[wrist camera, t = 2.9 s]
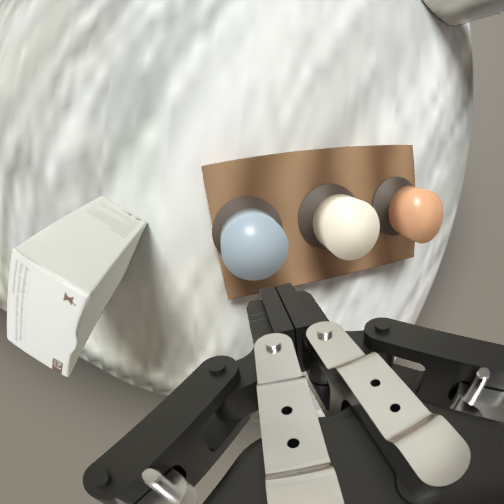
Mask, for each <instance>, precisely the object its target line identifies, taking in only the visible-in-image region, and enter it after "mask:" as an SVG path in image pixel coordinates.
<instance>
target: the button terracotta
mask: <svg viewBox="0 0 504 504" xmlns="http://www.w3.org/2000/svg"><path fill="white" fill-rule="evenodd" d="M442 220H443V206H442V202H441V200H440V198H439V197H438V195H437V194H436V193H434V192H432V191H429V190H425V189H421V188H417V187H413V186H404V187H402V188H400V189H399V190H398V191H397V192H396V193H395V194H394V195H393V197H392V199H391V202H390V205H389V221H390V224H391V226H392V227H393V229H394V230H395V231H396V232H398V233H400V234H402V235H404V236H406V237H408V238H409V239H411V240H413V241H415V242H418V243H426V242H429V241H430V240H432V239H433V238H434V237H435V236H436V234H437V233H438V231H439V229H440V227H441V224H442Z"/></svg>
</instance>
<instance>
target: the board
mask: <svg viewBox="0 0 504 504" xmlns="http://www.w3.org/2000/svg"><path fill="white" fill-rule="evenodd" d="M201 167H202V172H203V178H204V183H205V189H206V194H207V199H208V205H209V210H210V215H211V220H212V225H213V227H212V236H213V241H214V244H215V246H216V248H217V250H218V254H219V259H220V264H221V268H222V273H223V277H224V282H225V287H226V291H227V296H228V299H232V298H237V297H243V296H248V295H253V294H258V293H259V289H262V288H267V287H272V286H274V287H275V286H277V285H282V284H286V283H291V284H292V286H296V285H301V284H305V283H310V282H314V281H319V280H323V279H328V278H332V277H336V276H340V275H345V274H349V273H353V272H357V271H361V270H365V269H369V268H373V267H377V266H381V265H385V264H389V263H393V262H396V261H400V260H404V259H408V258H411V257H414V244H415V241H413V240H411V239H409V238H408V237H406V236H404V235H402V234H400V233H398V232H396V231H395V230H394V229H393V227H392V226H391V224H390V221H389V205H390V202H391V199H392V197H393V195H394V194H395V193H396V192H397V191H398V190H399V189H400V188H402V187H404V186H413V187H415V173H414V158H413V147H412V145H379V146H355V147H339V148H326V149H315V150H305V151H296V152H287V153H279V154H271V155H264V156H257V157H250V158H244V159H238V160H232V161H226V162H221V163H215V164H210V165H205V166H201ZM336 194H344V195H348V196H351V197H353V198H356V199H359V200H362V201H365V202H367V203H368V204H370V205H371V206H372V207H373V208H374V209H375V211H376V213H377V215H378V218H379V222H380V230H379V235H378V239H377V241H376V243H375V245H374V246H373V248H372V249H371V250H370V251H369V252H368V253H367V254H366V255H365V256H363V257H361V258H359V259H356V260H343V259H340V258H338V257H337V256H335V255H334V254H333V253H332V252H331V251H330V250H328V249H327V248H326V247H325V246H324V245H323V244H321V243H320V242H319V240H318V239H317V238H316V236H315V233H314V230H313V218H314V214H315V211H316V209H317V208H318V206H319V205H320V204H321V202H323V201H324V200H325V199H326V198H328V197H330V196H332V195H336ZM249 208H254V209H259V210H262V211H264V212H266V213H268V214H269V215H270V216H271V217H272V218H273V219H274V220H275V221H276V222H277V223H278V224H279V225H280V226H281V227H282V229H283V230H284V232H285V234H286V236H287V239H288V247H289V248H288V254H287V258H286V260H285V262H284V264H283V265H282V267H281V268H280V269H279V270H278V271H277V272H276V273H275V274H273V275H272V276H270V277H268V278H265V279H262V280H255V281H251V280H245V279H242V278H239V277H237V276H235V275H234V274H232V273H231V272H230V271H229V270H228V268H227V267H226V266H225V264H224V262H223V259H222V255H221V243H220V235H221V230H222V227H223V225H224V223H225V222H226V220H227V219H228V218H229V217H230V216H231V215H233V214H234V213H236V212H238V211H240V210H243V209H249Z"/></svg>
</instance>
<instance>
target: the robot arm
mask: <svg viewBox="0 0 504 504" xmlns="http://www.w3.org/2000/svg"><path fill="white" fill-rule="evenodd" d="M423 1H424V3H425V4H426V5H427V7H428V8H429V9H430V10H431V11H432V12H433V13H434V14H435V15H436V16H437V17H438V18H439V19H441V20H442V21H443V22H445V23H447V24H449V25H453V26H454V25H458V24H465V23H468V22H471V21H474V20H478V19H481V18H485V17H489V16H493V15H496V14H500V13H501V12H504V0H423ZM259 297H260V300H256V301H251V302H249V304H248V306H247V314H248V319H249V324H250V329H251V334H252V338H253V343H254V348H253V350H252V351H251V352H250V353H249V354H248V355H247V356H245V357H244V358H242V359H239V360H237V361H235V360H234V359H233V358H231V357H228V356H215V357H212V358H209V359H207V360H206V361H204V362H203V363H202V364H201V365H200V366H199V367H198V368H197V369H196V370H195V371H194V372H193V373H192V374H191V375H190V376H189V377H188V378H187V379H185V380H184V381H183V382H182V383H181V384H180V385H179V386H178V387H177V388H176V389H175V390H174V391H173V392H172V393H171V394H170V395H169V396H168V397H167V398H166V399H165V400H164V401H162V402H161V403H160V404H159V405H158V406H157V407H156V408H155V409H154V410H153V411H152V412H151V413H149V414H148V415H147V416H146V417H145V418H144V419H143V420H142V421H141V422H140V423H139V424H137V425H136V426H135V427H134V428H133V429H132V430H131V431H130V432H128V433H127V434H126V435H125V436H124V437H123V438H122V439H121V440H119V441H118V442H117V443H116V444H115V445H114V446H112V447H111V448H110V449H109V450H108V451H107V452H106V453H104V454H103V455H102V456H101V457H100V458H98V459H97V460H96V461H95V462H94V463H92V464H91V465H90V466H89V467H88V468H87V470H86V471H85V473H84V476H83V485H84V488H85V490H86V491H87V492H88V494H90V495H91V496H92V497H94V498H95V499H97V500H98V501H100V502H101V503H103V504H197V502H198V494H197V491H196V489H195V488H194V486H195V485H196V484H197V483H198V482H199V481H200V480H201V478H202V477H203V476H204V475H205V474H206V473H207V472H208V470H209V469H210V468H211V467H212V466H213V465H214V463H215V462H216V461H217V460H218V459H219V457H220V456H221V455H222V454H223V452H224V451H225V450H226V449H227V448H228V446H229V445H230V444H231V442H232V441H233V440H234V439H235V437H236V436H237V435H238V434H239V432H240V431H241V430H242V428H243V427H244V426H245V424H246V423H247V422H248V420H249V419H250V416H251V413H253V412H256V411H258V410H259V416H260V426H261V435H262V438H260V439H258V440H257V441H255V442H254V443H252V444H251V445H249V446H248V447H247V448H246V449H245V450H244V451H243V452H242V453H241V454H240V455H239V456H238V458H237V459H236V460H235V462H234V463H233V465H232V466H231V467H230V469H229V470H228V471H227V473H226V474H225V476H224V477H223V478H222V480H221V481H220V482H219V483H218V485H217V486H216V488H215V489H214V490H213V491H212V492H211V494H210V495H209V496H208V498H207V499H206V500H205V501H204V502H203V504H504V345H500V344H496V343H491V342H486V341H482V340H477V339H472V338H468V337H464V336H459V335H455V334H451V333H446V332H441V331H438V330H434V329H429V328H425V327H421V326H417V325H413V324H409V323H405V322H401V321H397V320H393V319H389V318H375V319H372V320H370V321H369V322H367V323H366V325H365V328H364V331H344V329H343V328H342V327H341V326H340V325H338V324H336V323H334V322H329V320H328V319H327V317H326V316H325V314H324V313H323V311H322V310H321V308H320V307H319V306H318V304H317V302H315V299H314V298H313V297H312V295H311V294H309V293H307V292H305V291H304V290H303V291H298V292H296V291H295V289H294V288H293V286H292V284H291V283H286V284H282V285H277V286H275V287H274V286H272V287H267V288H262V289H259ZM395 356H396V357H399V358H403V359H407V360H410V361H413V362H417V363H420V364H422V365H423V366H424V367H425V369H426V370H425V371H418V370H414V369H411V368H407V367H404V366H401V365H397V364H394V363H393V362H394V358H395ZM304 371H306V372H307V374H308V383H307V380H306V377H305V376H302V373H301V372H304ZM308 384H309V386H308ZM309 387H310V389H311V391H312V392H313V394H314V396H315V398H316V400H317V402H318V404H319V405H320V407H321V409H322V411H323V413H324V415H325V417H319V418H318V417H317V413H316V410H315V407H314V403H313V400H312V396H311V393H310V390H309Z"/></svg>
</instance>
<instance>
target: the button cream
mask: <svg viewBox="0 0 504 504" xmlns="http://www.w3.org/2000/svg"><path fill="white" fill-rule="evenodd" d="M313 230H314V233H315V236H316V238H317V239H318V240H319V242H320V243H321V244H323V245H324V246H325V247H326V248H327V249H328V250H330V251H331V252H332V253H333V254H334V255H335V256H337V257H338V258H340V259H343V260H356V259H359V258H361V257H363V256H365V255H366V254H367V253H368V252H369V251H370V250H371V249H372V248H373V246H374V245H375V243H376V241H377V239H378V235H379V230H380V222H379V218H378V215H377V213H376V211H375V209H374V208H373V207H372V206H371V205H370V204H368V203H367V202H365V201H362V200H359V199H356V198H353V197H351V196H348V195H344V194H336V195H332V196H330V197H328V198H326V199H325V200H324V201H323V202H321V204H320V205H319V206H318V208H317V209H316V211H315V214H314V218H313Z"/></svg>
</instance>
